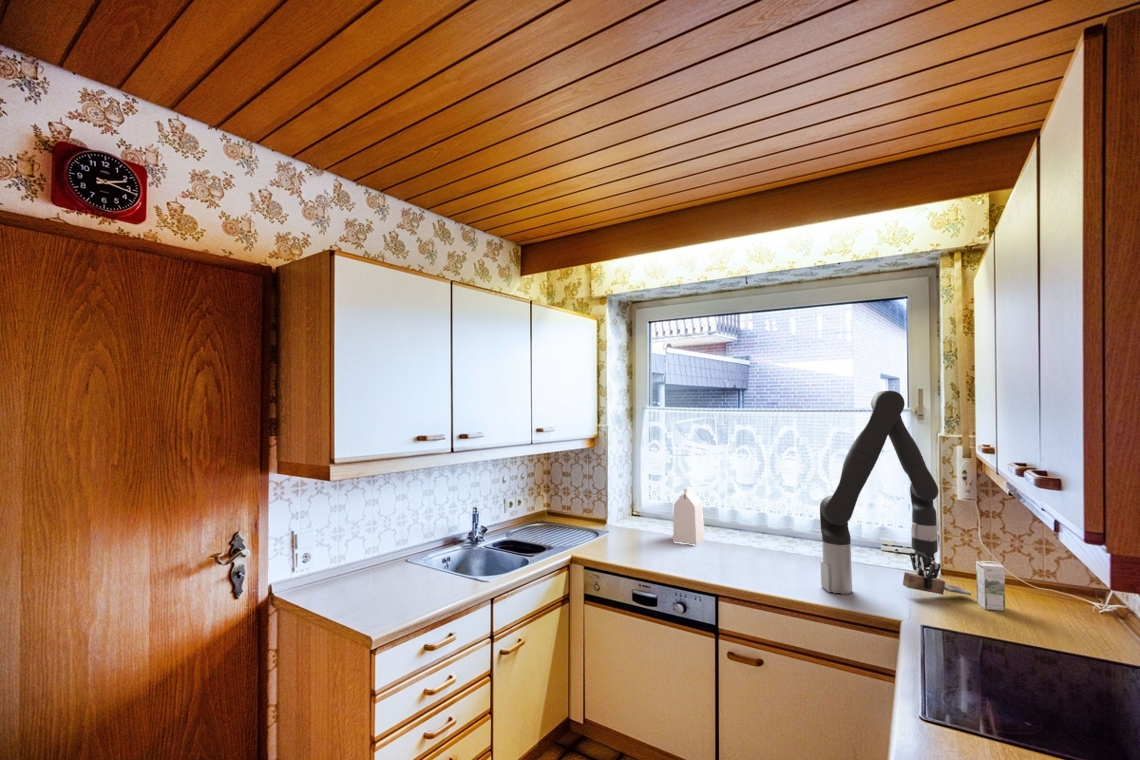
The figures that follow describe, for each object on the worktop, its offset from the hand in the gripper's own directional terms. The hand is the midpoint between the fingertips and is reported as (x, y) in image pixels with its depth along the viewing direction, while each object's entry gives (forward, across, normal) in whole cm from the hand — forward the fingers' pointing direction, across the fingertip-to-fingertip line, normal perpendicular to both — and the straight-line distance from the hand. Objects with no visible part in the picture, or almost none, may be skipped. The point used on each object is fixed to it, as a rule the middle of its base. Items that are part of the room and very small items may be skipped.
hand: (924, 586), depth 183 cm
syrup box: (+3, +9, +16) cm, 18 cm away
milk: (+6, -71, -68) cm, 98 cm away
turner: (+2, 0, +3) cm, 4 cm away
